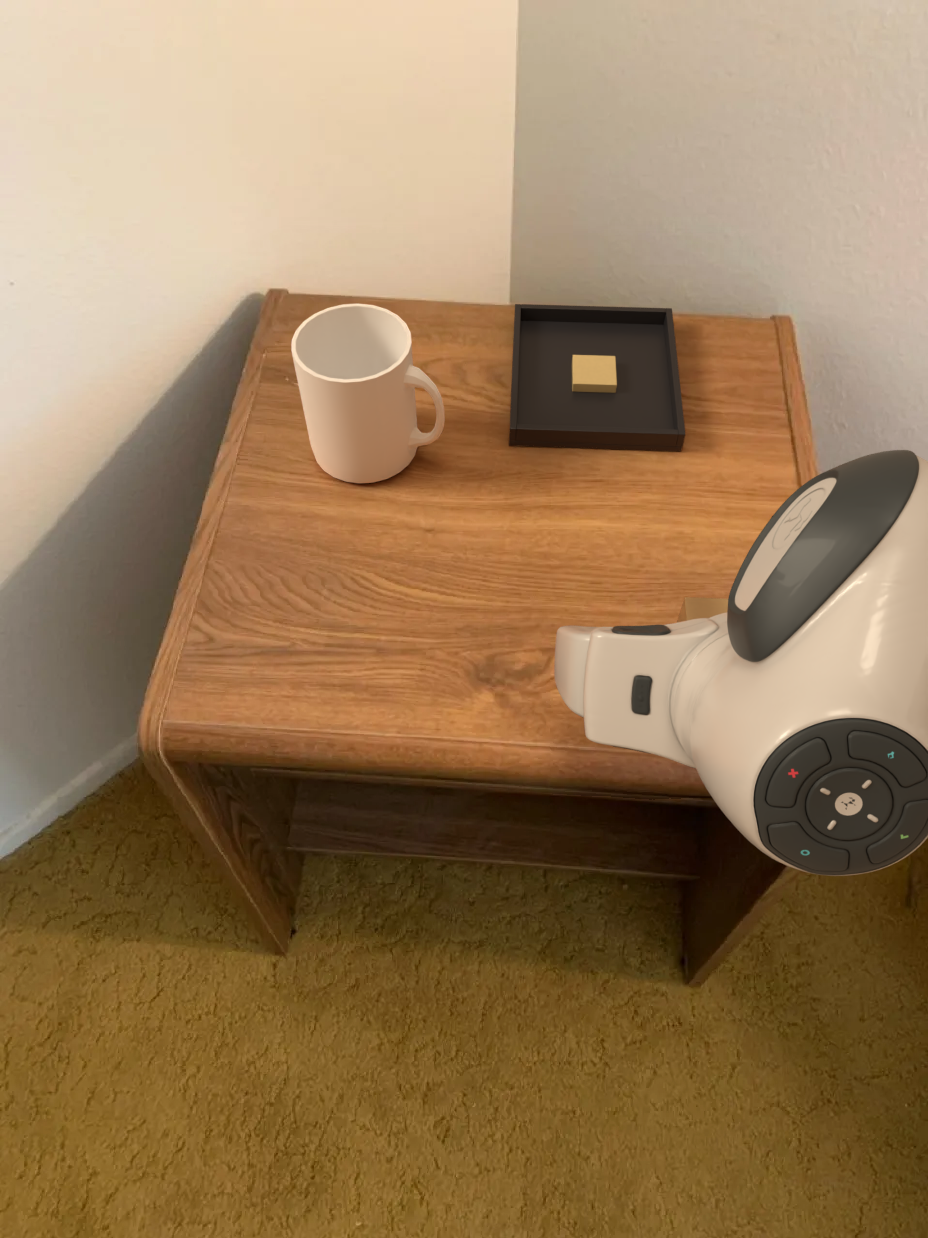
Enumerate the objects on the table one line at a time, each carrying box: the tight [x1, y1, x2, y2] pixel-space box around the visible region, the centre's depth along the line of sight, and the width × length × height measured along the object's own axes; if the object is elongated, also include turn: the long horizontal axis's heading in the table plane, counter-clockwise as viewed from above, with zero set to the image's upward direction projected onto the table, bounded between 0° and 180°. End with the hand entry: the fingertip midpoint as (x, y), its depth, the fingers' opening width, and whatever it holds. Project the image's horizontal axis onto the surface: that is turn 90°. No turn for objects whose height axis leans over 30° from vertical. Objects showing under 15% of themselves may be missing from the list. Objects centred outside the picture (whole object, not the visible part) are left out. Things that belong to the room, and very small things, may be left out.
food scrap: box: [572, 355, 617, 393], centre depth 86 cm, size 4×4×1 cm
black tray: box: [508, 303, 687, 452], centre depth 86 cm, size 15×17×2 cm
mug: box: [290, 303, 446, 484], centre depth 77 cm, size 10×12×12 cm
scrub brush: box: [676, 596, 728, 623], centre depth 64 cm, size 5×4×9 cm
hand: (695, 642), depth 64 cm, fingers closed on scrub brush, 3 cm apart
